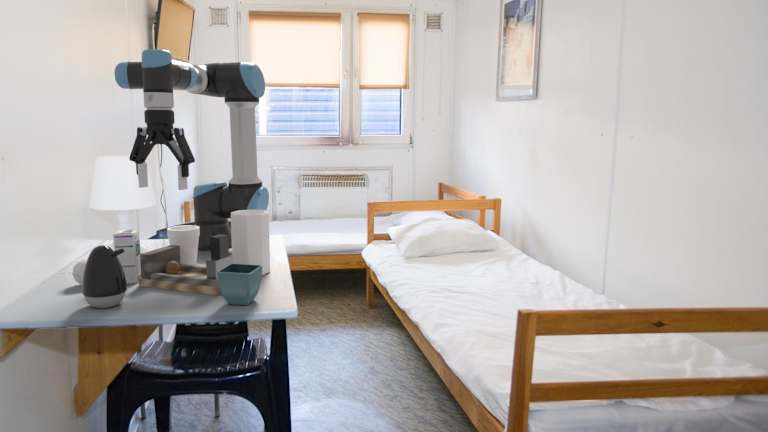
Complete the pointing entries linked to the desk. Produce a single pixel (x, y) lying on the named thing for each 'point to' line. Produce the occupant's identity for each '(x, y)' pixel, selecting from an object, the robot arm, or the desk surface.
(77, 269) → the white ball
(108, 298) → the pump dispenser
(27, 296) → the desk surface
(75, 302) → the desk surface
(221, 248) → the block
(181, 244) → the foam cup
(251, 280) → the flower pot
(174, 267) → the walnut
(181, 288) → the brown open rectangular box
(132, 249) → the syrup box
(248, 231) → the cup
